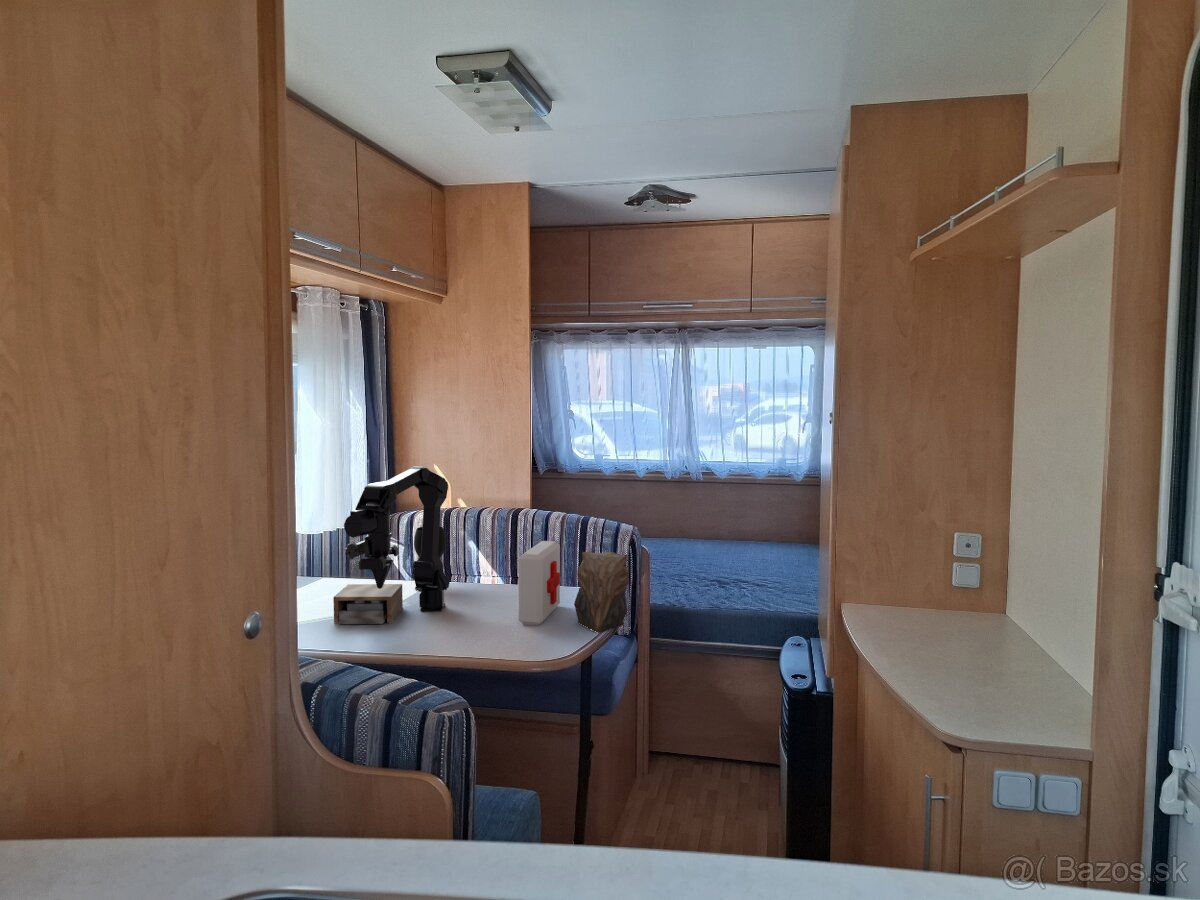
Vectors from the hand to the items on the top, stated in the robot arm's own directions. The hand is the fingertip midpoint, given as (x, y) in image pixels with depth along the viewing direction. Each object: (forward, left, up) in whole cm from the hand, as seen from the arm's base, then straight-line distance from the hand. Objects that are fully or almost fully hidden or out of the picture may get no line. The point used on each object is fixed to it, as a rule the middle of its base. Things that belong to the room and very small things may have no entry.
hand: (380, 588), depth 203 cm
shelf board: (+7, -13, -12) cm, 19 cm away
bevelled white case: (-43, -14, -12) cm, 47 cm away
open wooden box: (+7, -15, -12) cm, 20 cm away
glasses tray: (+7, -13, -11) cm, 18 cm away
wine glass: (-5, -46, -12) cm, 48 cm away
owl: (-59, -4, -12) cm, 61 cm away
